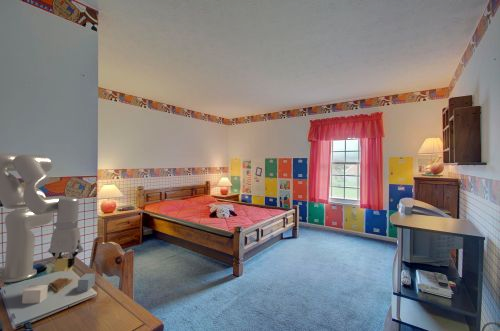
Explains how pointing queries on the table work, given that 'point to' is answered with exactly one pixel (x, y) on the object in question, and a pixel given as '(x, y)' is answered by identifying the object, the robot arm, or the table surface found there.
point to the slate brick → (86, 282)
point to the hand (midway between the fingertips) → (65, 266)
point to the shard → (60, 283)
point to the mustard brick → (62, 265)
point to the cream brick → (35, 294)
